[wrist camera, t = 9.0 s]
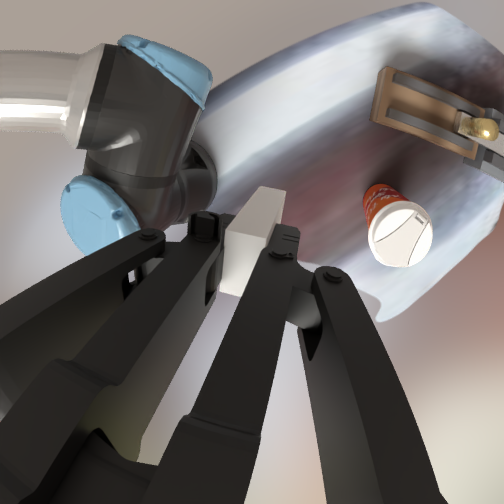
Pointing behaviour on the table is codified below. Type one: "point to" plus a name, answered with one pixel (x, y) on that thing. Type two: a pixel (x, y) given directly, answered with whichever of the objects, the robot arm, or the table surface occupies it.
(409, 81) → the door
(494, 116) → the bracket
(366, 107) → the table surface
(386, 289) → the table surface
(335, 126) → the table surface
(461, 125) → the white and gold piece
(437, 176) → the table surface
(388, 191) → the coffee cup
